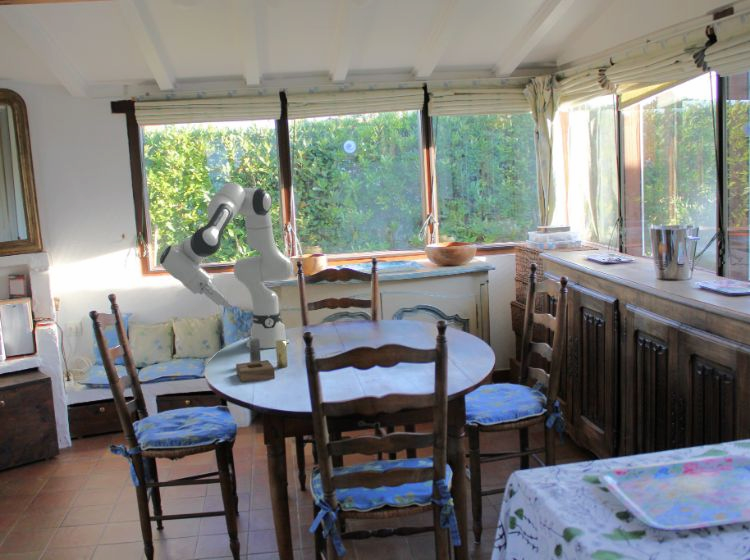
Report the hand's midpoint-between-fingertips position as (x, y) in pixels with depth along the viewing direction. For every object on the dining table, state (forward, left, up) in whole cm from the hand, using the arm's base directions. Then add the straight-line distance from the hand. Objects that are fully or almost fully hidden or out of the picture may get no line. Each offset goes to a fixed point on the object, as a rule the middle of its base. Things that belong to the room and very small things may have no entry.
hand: (228, 305), depth 265 cm
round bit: (-4, +19, -26) cm, 33 cm away
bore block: (+5, +7, -26) cm, 28 cm away
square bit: (-12, +10, -26) cm, 31 cm away
